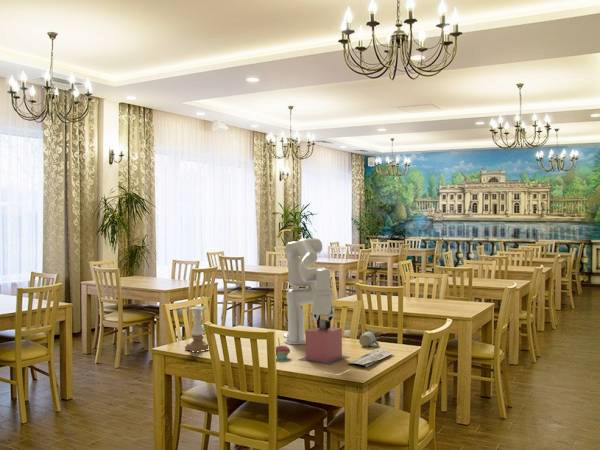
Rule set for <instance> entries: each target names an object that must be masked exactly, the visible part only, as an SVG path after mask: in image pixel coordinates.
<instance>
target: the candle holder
mask: <svg viewBox="0 0 600 450" xmlns="http://www.w3.org/2000/svg"><path fill="white" fill-rule="evenodd" d="M207 309H208V307H207V306H205V305H204V306H203V305H202V306H201V305H199V306H197V305H196V306H189V307H188V311H192V313H193V314H194V317H193V318H192V320H193V322H194V325H193V327H192V328H191V330H190V331H191V332H190V333H191V334H192V341H191V342H190V343H186V345H185V347H184V350H185V349H187V350H190V351H194V352H197V351H201V350H206V349H208V344H209V343H208V342H205V341H204V336H203V335H204V333H205V328H204V326H203V325H202V320H203V318H202V317H203V316H202V313H203V311H205V310H207ZM203 328H204V329H203ZM207 343H208V344H207ZM190 351H189V352H190Z"/></svg>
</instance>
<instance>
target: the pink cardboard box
mask: <svg viewBox="0 0 600 450" xmlns="http://www.w3.org/2000/svg"><path fill="white" fill-rule="evenodd" d="M326 321H327V319H326V318H321V319H320V320H319V328H317V326H315V327H313V328H309V329H306V330H305V329H304V333H305V339H306V343H305V357H306V360H312V361H319V362H325V363H329V362H331V361H334V360H336V359H339V358H341V357H342V356H343V338H342V337H343V331H342V330H343V329H342V328H339V327H331V326H330V328H329V329H326Z"/></svg>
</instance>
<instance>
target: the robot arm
mask: <svg viewBox="0 0 600 450" xmlns="http://www.w3.org/2000/svg"><path fill="white" fill-rule="evenodd" d="M322 251H323V243H322V241H321V240H320V239H319V238H314V237H313V238H302V239H299V240H297V241H290V242H287V243H286V244H285V248H284V254H285V257H286V260H287V266H288V267H287V272H288V275H287V276H288V283H289V286H291V287H306V288H292V289H288V291H286V296H285V297H286V304H287V316H288V317H287V324H288V325H287V326H288V327H287V330H288V331H287V332H288V333H284V335H283V338H284V339H286V340H285V343H286V344H287V345H306V338H305V311H304V310H303V308H302V307H301V306H304V305H313V306H312V311H311V315H312V316H313V317H314V319H315V320H316V327H317V328H319V320H320V319H322V316H325V319H327V321H326V329H329V328H330V327H331V326H332V325H331V321H332V319H334V318H335V317H336V316H337V313H336V312H335V310H334V303H333V296H332V294H331V288H332V287H331V270H330V269H328V268H326V267H322V266H321V267H310V266H312V265H314V264H315V263H316V262H317V260H318V254H320V253H322Z"/></svg>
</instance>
